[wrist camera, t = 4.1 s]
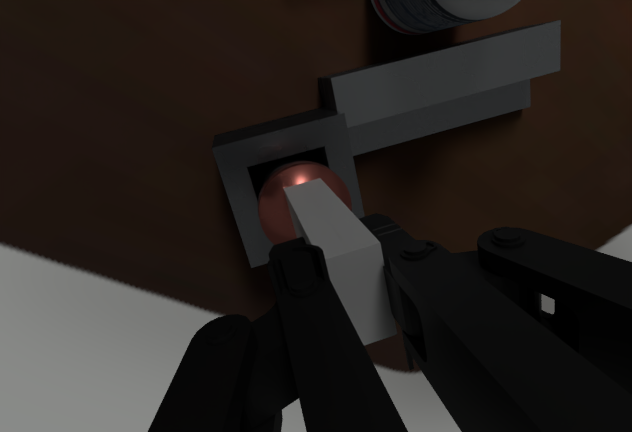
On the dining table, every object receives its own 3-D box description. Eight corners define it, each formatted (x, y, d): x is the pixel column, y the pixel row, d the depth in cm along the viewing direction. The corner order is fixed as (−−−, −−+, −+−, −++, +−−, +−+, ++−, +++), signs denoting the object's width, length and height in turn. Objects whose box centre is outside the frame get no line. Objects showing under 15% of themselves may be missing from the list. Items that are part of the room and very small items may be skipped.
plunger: (261, 219, 22) (273, 265, 16) (241, 152, 20) (246, 179, 15) (327, 200, 22) (359, 239, 17) (312, 133, 21) (341, 153, 15)
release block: (247, 237, 23) (251, 267, 19) (214, 135, 20) (211, 148, 17) (345, 208, 23) (367, 232, 20) (323, 107, 21) (344, 113, 17)
